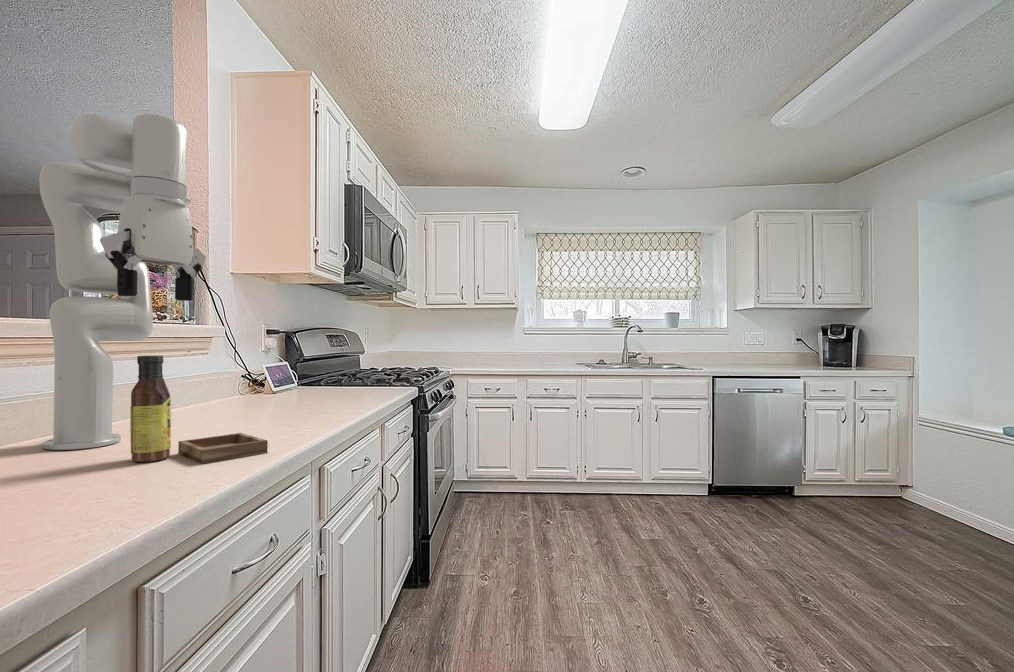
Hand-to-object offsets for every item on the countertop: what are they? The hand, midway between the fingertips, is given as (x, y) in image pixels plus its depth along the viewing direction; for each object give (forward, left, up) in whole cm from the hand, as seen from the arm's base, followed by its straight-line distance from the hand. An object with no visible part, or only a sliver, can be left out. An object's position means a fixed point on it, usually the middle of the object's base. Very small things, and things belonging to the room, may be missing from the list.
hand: (157, 298), depth 82 cm
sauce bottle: (-15, +4, -30) cm, 34 cm away
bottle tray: (-10, +15, -30) cm, 35 cm away
